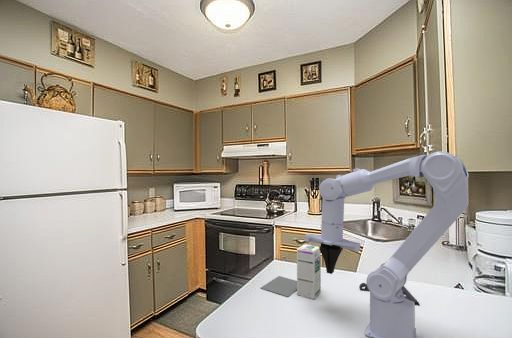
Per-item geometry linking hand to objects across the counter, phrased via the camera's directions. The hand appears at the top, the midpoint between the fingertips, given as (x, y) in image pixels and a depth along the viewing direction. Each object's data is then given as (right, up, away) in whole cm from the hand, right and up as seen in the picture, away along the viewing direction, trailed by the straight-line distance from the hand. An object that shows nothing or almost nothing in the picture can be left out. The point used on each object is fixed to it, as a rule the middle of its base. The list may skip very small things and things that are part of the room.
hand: (330, 272), depth 71 cm
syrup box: (-4, -11, +10) cm, 15 cm away
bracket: (+21, -12, +12) cm, 27 cm away
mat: (-11, -11, +15) cm, 21 cm away
